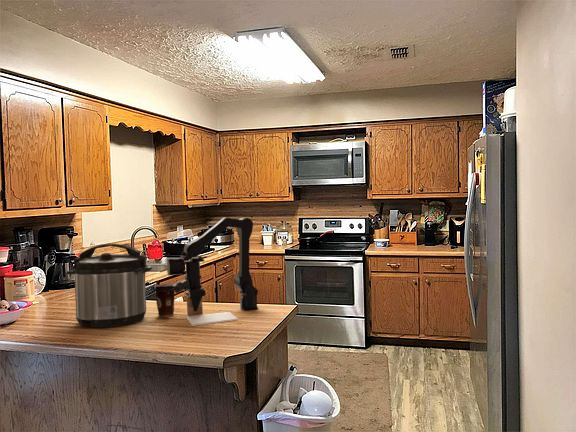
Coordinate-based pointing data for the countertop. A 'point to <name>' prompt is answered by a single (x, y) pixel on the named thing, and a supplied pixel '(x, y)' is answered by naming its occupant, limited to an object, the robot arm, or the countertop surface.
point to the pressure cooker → (110, 287)
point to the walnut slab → (191, 311)
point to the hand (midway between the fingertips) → (194, 310)
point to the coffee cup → (165, 299)
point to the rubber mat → (211, 318)
